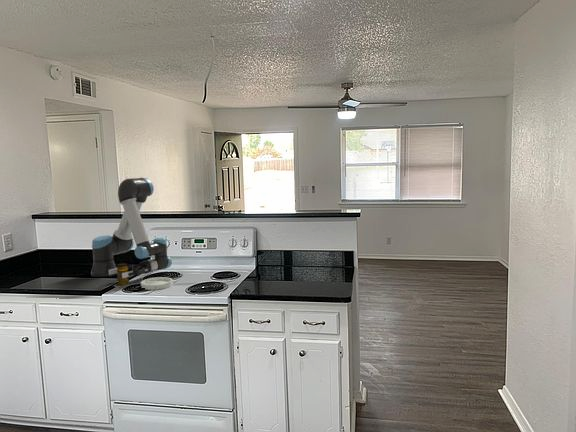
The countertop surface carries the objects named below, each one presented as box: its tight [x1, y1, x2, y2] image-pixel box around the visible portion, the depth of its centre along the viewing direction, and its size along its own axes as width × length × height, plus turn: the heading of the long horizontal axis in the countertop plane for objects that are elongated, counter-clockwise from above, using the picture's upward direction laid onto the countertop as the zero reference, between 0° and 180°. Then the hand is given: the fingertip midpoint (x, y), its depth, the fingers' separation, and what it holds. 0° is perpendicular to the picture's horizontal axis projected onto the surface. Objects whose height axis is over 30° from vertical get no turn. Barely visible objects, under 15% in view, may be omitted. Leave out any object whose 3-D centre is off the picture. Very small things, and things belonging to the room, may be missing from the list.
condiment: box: [113, 262, 132, 288], centre depth 260 cm, size 7×8×12 cm
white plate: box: [140, 276, 174, 291], centre depth 258 cm, size 17×17×2 cm
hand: (115, 274), depth 257 cm, fingers open, 12 cm apart
